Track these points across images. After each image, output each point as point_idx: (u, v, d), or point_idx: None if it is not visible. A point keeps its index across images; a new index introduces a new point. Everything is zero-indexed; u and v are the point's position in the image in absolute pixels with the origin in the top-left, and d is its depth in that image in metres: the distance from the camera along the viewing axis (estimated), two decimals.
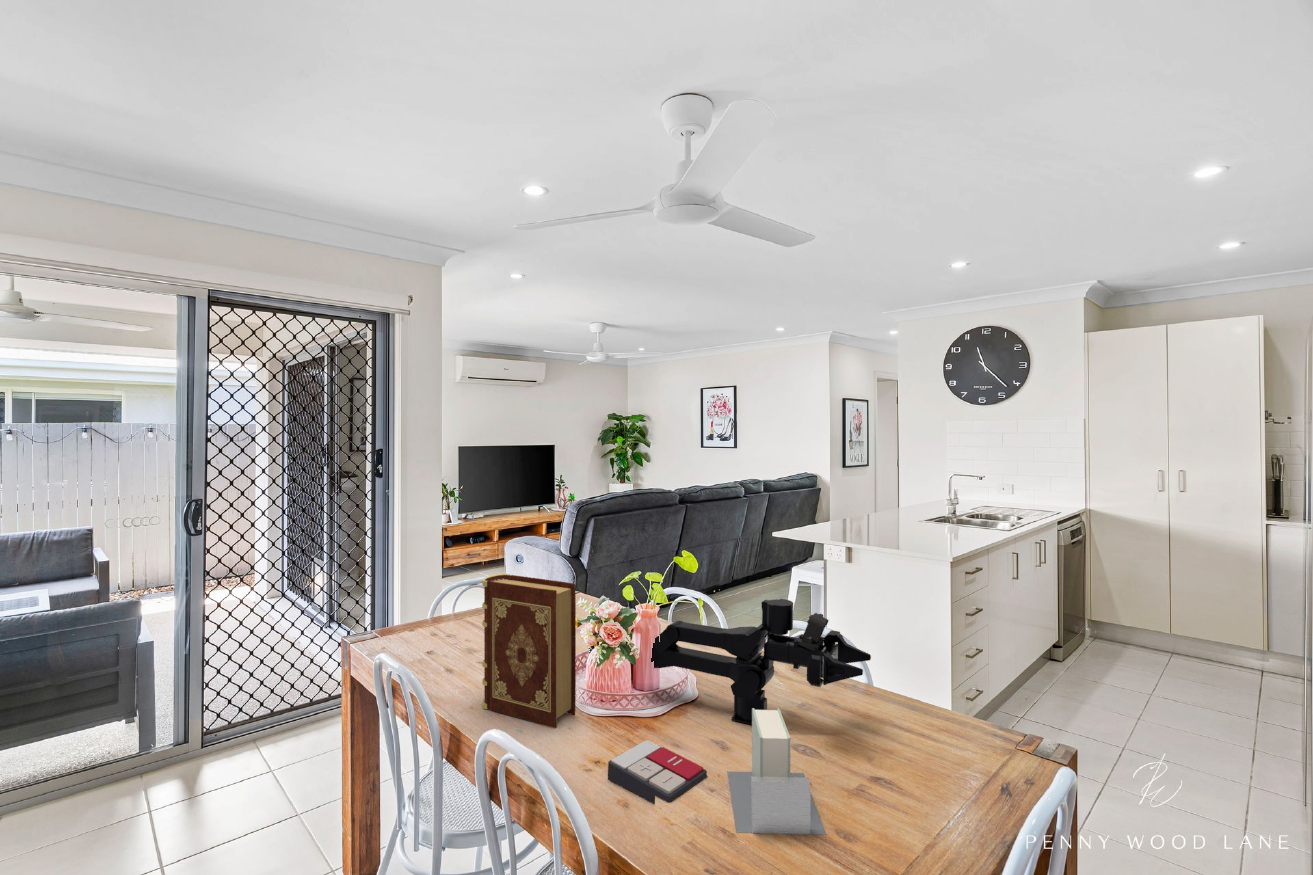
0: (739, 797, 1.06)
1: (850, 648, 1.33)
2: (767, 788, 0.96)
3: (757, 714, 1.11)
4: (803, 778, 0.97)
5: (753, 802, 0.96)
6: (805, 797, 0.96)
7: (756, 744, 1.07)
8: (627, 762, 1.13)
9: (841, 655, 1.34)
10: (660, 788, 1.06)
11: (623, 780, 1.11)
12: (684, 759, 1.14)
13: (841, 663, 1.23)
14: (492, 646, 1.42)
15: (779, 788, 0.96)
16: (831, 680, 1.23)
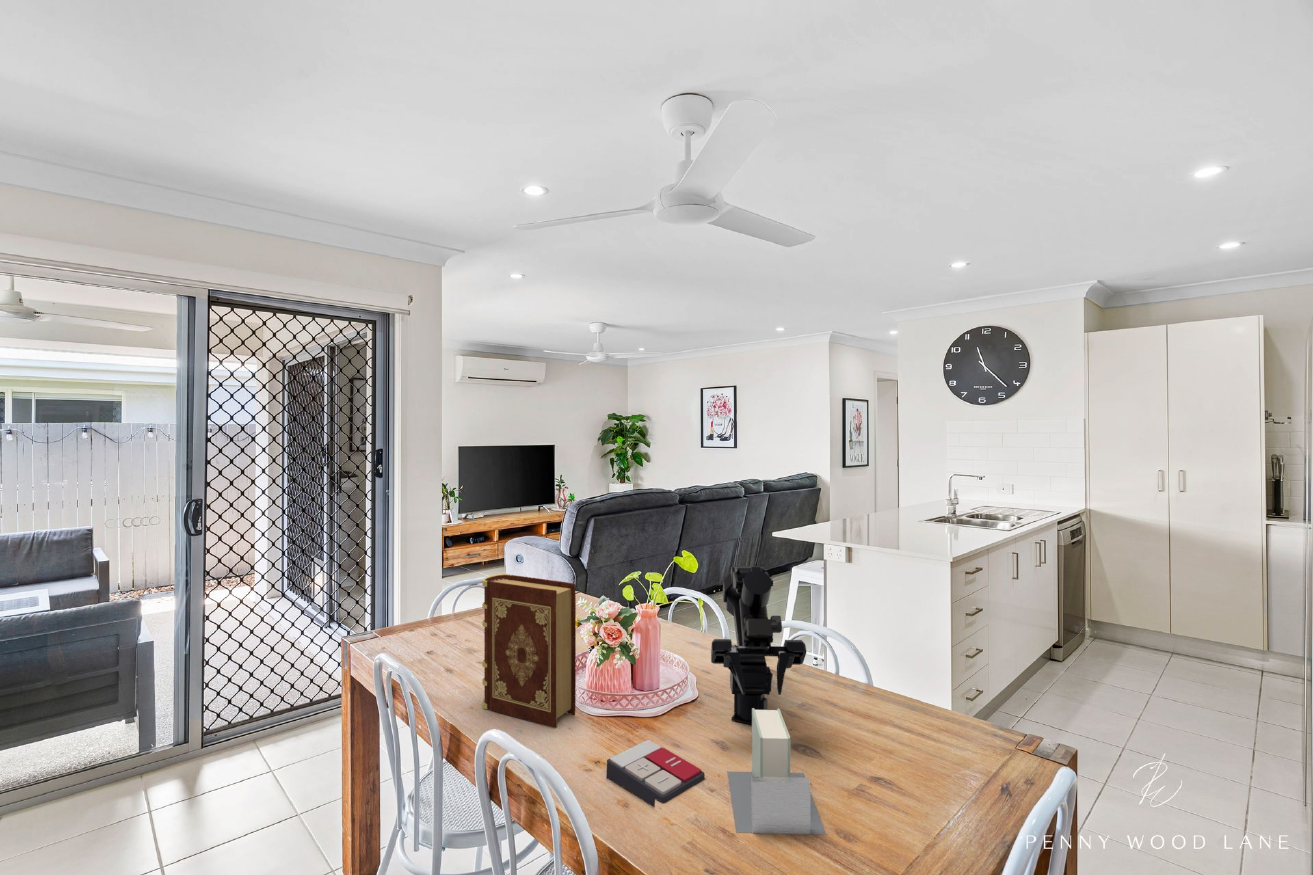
0: (739, 797, 1.06)
1: (778, 670, 1.21)
2: (767, 788, 0.96)
3: (757, 714, 1.11)
4: (803, 778, 0.97)
5: (753, 802, 0.96)
6: (805, 797, 0.96)
7: (756, 744, 1.07)
8: (625, 761, 1.13)
9: (777, 665, 1.24)
10: (655, 788, 1.06)
11: (620, 778, 1.11)
12: (683, 760, 1.14)
13: (737, 670, 1.21)
14: (492, 646, 1.42)
15: (779, 788, 0.96)
16: (731, 669, 1.25)
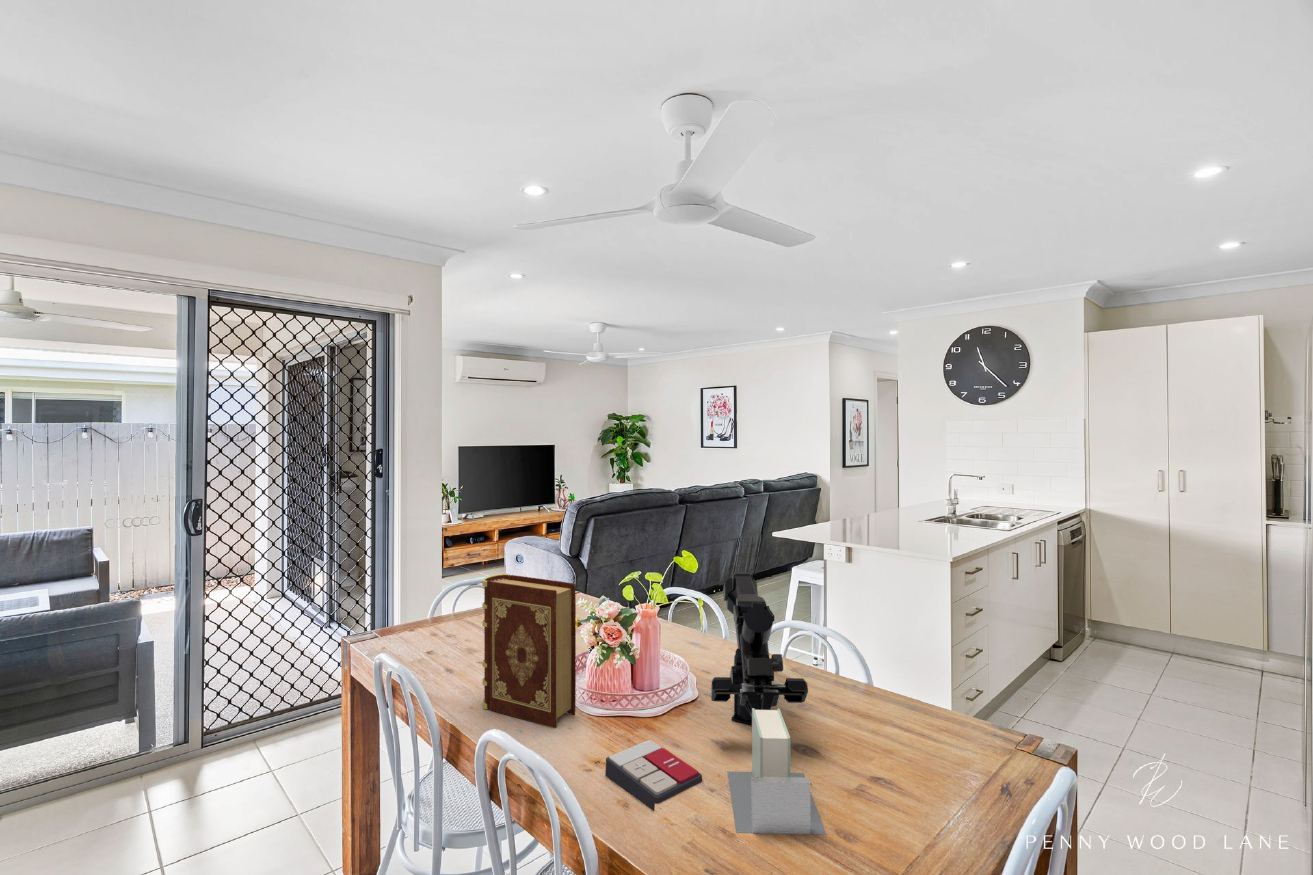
0: (739, 797, 1.06)
1: (763, 709, 1.19)
2: (767, 788, 0.96)
3: (757, 714, 1.11)
4: (803, 778, 0.97)
5: (753, 802, 0.96)
6: (805, 797, 0.96)
7: (756, 744, 1.07)
8: (623, 760, 1.14)
9: (762, 703, 1.22)
10: (649, 788, 1.06)
11: (618, 777, 1.12)
12: (681, 762, 1.14)
13: None
14: (492, 646, 1.42)
15: (779, 788, 0.96)
16: (747, 708, 1.23)
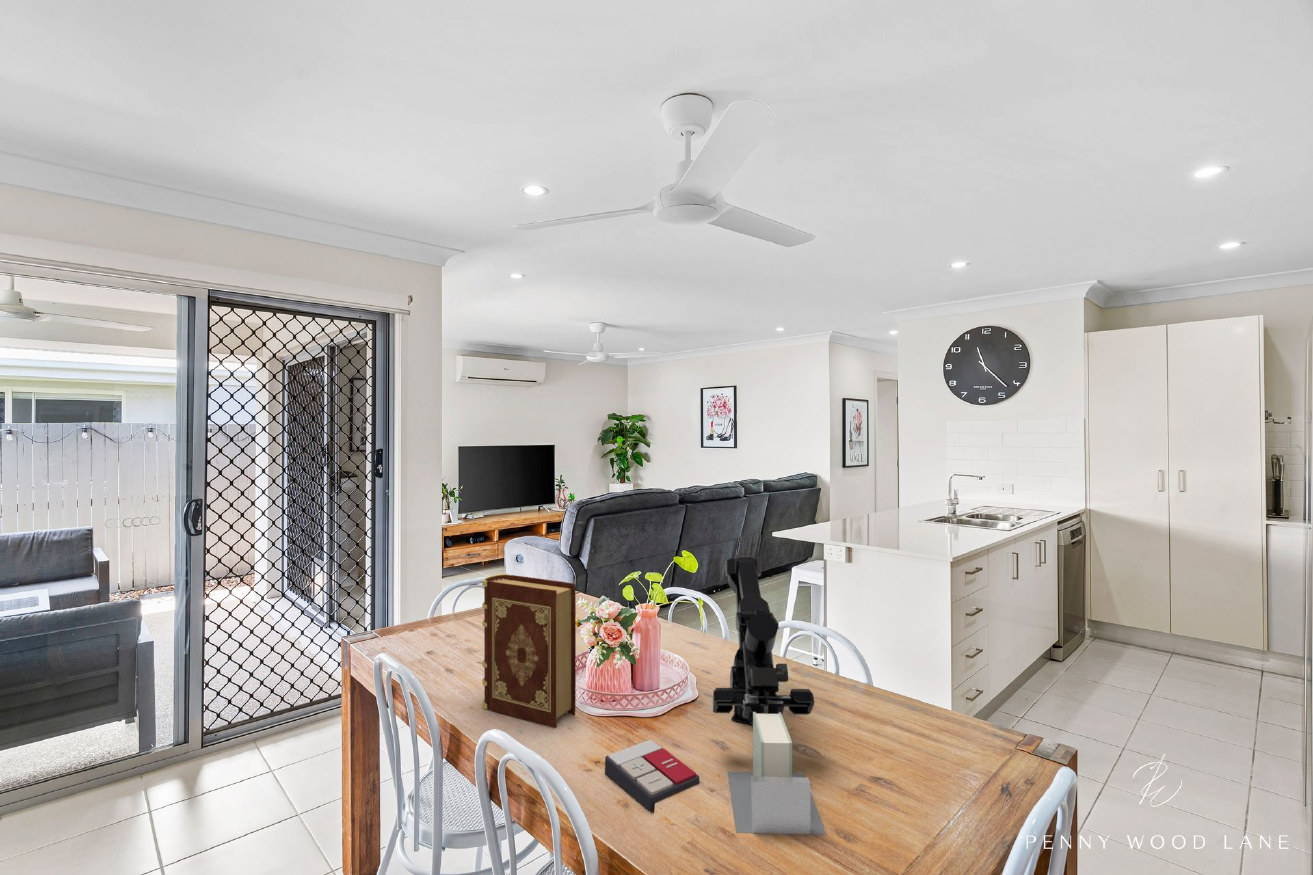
0: (739, 797, 1.06)
1: None
2: (767, 788, 0.96)
3: (758, 718, 1.09)
4: (803, 778, 0.97)
5: (753, 802, 0.96)
6: (805, 797, 0.96)
7: (757, 748, 1.05)
8: (622, 759, 1.14)
9: None
10: (645, 788, 1.06)
11: (616, 776, 1.12)
12: (680, 763, 1.13)
13: None
14: (492, 646, 1.42)
15: (779, 788, 0.96)
16: (751, 720, 1.17)
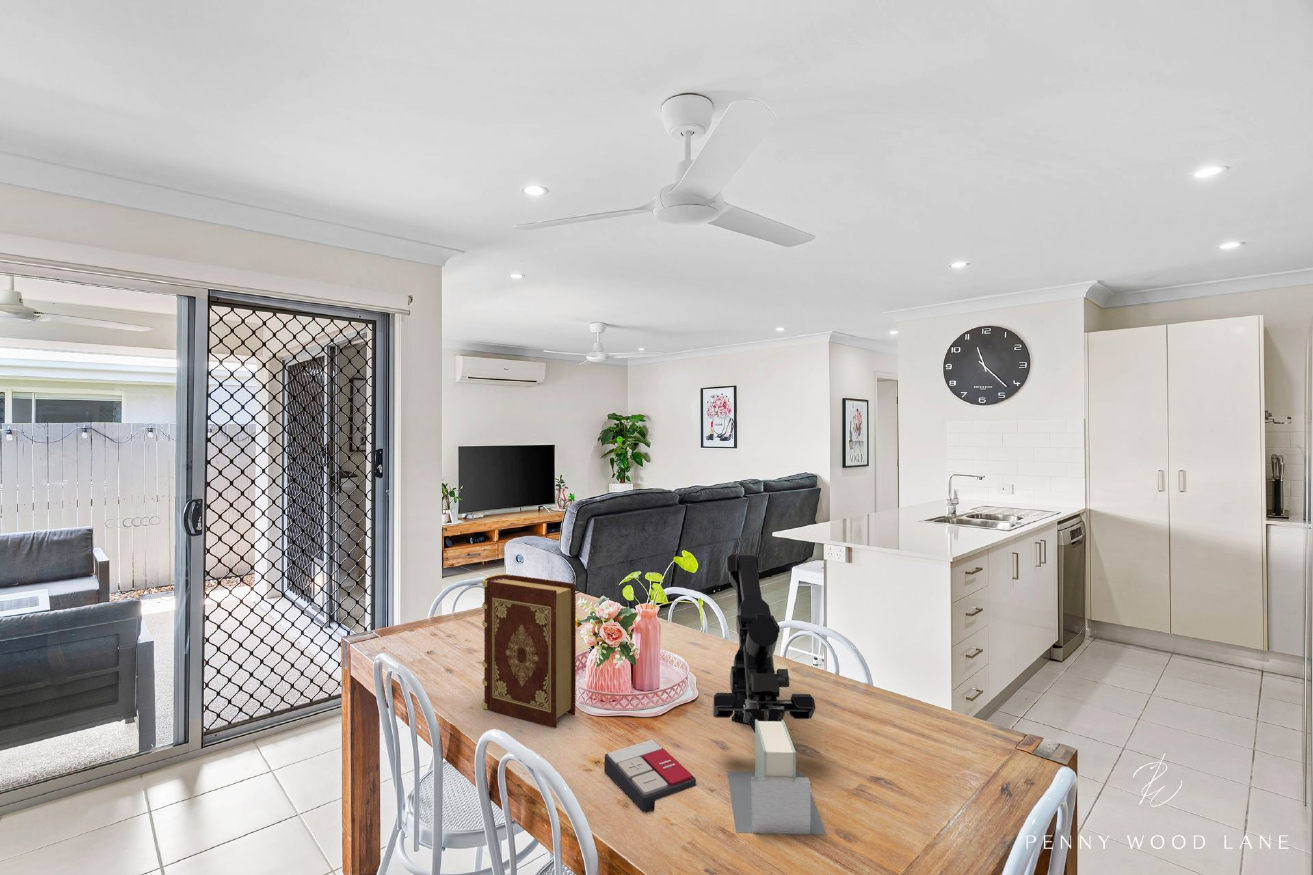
0: (739, 797, 1.06)
1: None
2: (767, 788, 0.96)
3: (760, 726, 1.06)
4: (803, 778, 0.97)
5: (753, 802, 0.96)
6: (805, 797, 0.96)
7: (759, 758, 1.02)
8: (621, 758, 1.15)
9: (767, 720, 1.16)
10: (639, 788, 1.06)
11: (614, 774, 1.13)
12: (677, 764, 1.13)
13: None
14: (492, 646, 1.42)
15: (779, 788, 0.96)
16: (751, 725, 1.16)
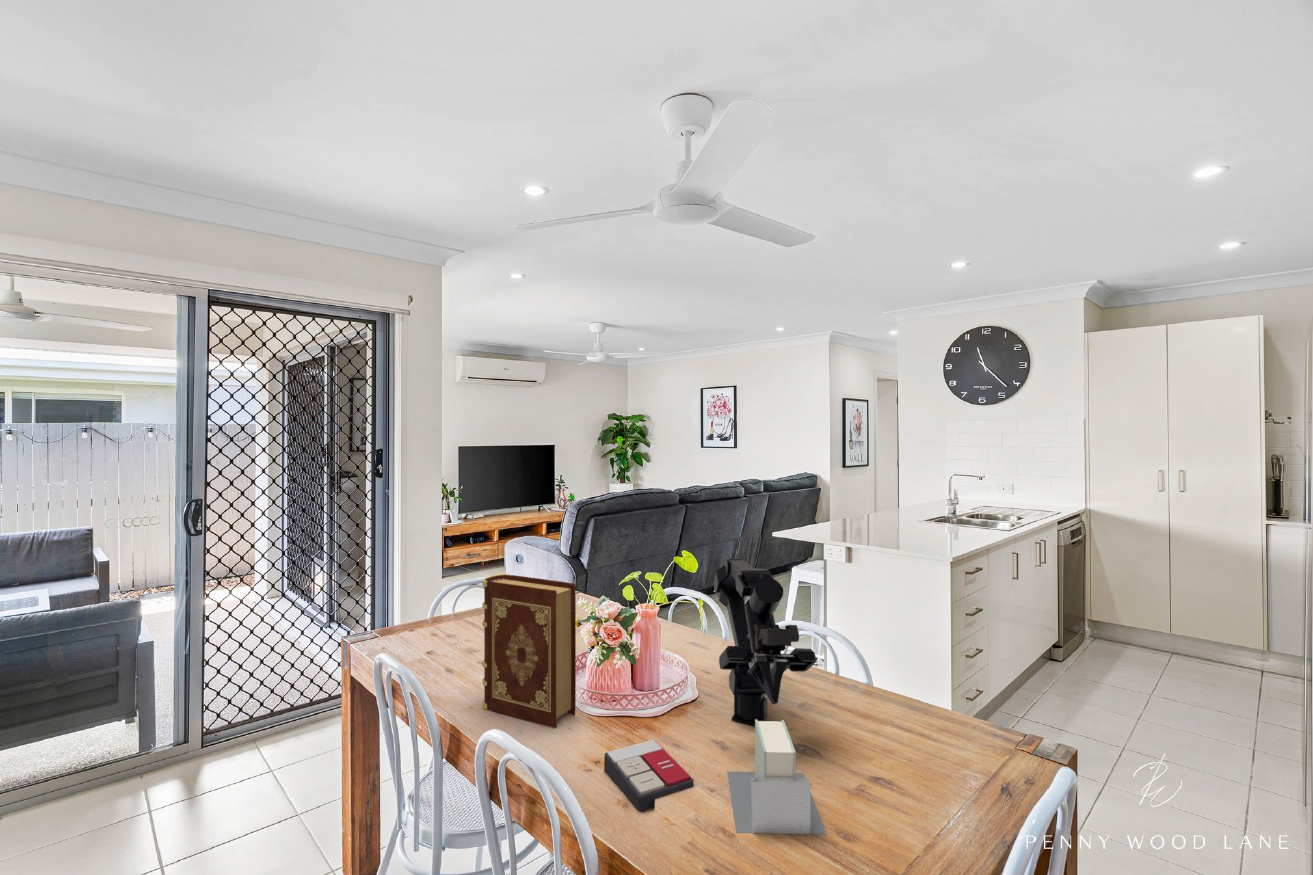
0: (739, 797, 1.06)
1: (775, 678, 1.20)
2: (767, 788, 0.96)
3: (760, 726, 1.06)
4: (803, 778, 0.97)
5: (753, 802, 0.96)
6: (805, 797, 0.96)
7: (759, 758, 1.02)
8: (620, 757, 1.15)
9: (770, 672, 1.22)
10: (635, 787, 1.06)
11: (612, 773, 1.13)
12: (676, 764, 1.13)
13: (768, 679, 1.19)
14: (492, 646, 1.42)
15: (779, 788, 0.96)
16: (755, 677, 1.23)
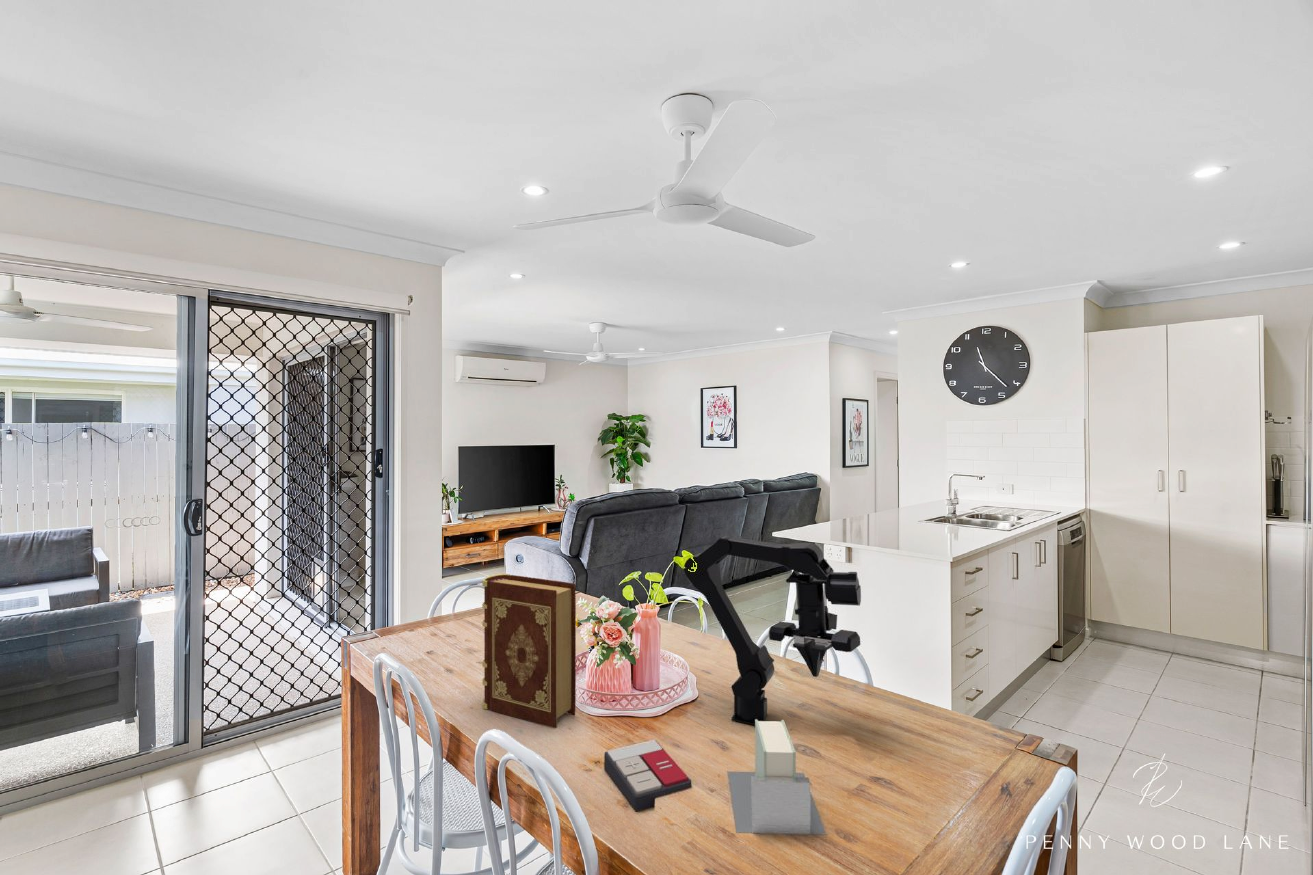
0: (739, 797, 1.06)
1: None
2: (767, 788, 0.96)
3: (760, 726, 1.06)
4: (803, 778, 0.97)
5: (753, 802, 0.96)
6: (805, 797, 0.96)
7: (759, 758, 1.02)
8: (619, 756, 1.15)
9: (809, 648, 1.32)
10: (632, 787, 1.06)
11: (611, 772, 1.14)
12: (675, 765, 1.12)
13: None
14: (492, 646, 1.42)
15: (779, 788, 0.96)
16: None
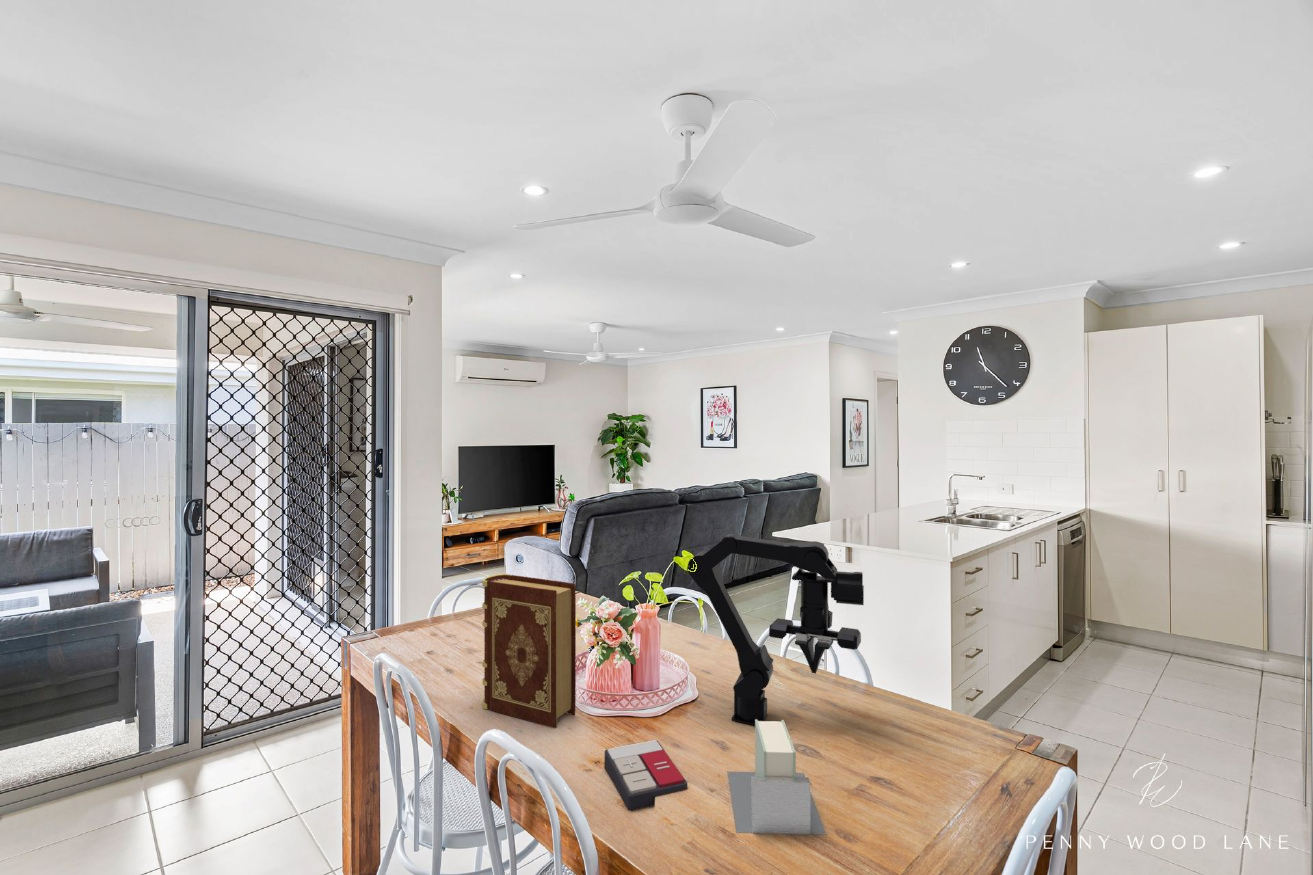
0: (739, 797, 1.06)
1: (813, 651, 1.35)
2: (767, 788, 0.96)
3: (760, 726, 1.06)
4: (803, 778, 0.97)
5: (753, 802, 0.96)
6: (805, 797, 0.96)
7: (759, 758, 1.02)
8: (618, 755, 1.16)
9: (810, 645, 1.33)
10: (627, 786, 1.06)
11: (610, 770, 1.14)
12: (672, 766, 1.12)
13: None
14: (492, 646, 1.42)
15: (779, 788, 0.96)
16: None
